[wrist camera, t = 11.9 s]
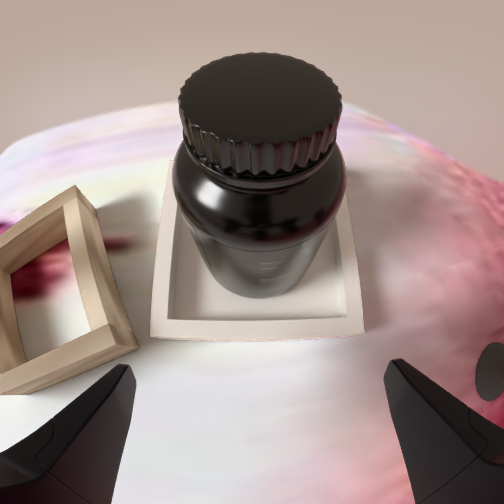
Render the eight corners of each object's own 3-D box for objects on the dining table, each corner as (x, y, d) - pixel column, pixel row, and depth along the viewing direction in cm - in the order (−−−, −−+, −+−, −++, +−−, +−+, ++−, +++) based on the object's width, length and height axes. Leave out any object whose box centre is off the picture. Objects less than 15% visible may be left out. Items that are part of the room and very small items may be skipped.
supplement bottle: (312, 207, 19) (363, 54, 8) (307, 306, 17) (402, 204, 6) (212, 196, 20) (182, 38, 8) (193, 293, 17) (105, 174, 6)
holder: (139, 348, 16) (115, 343, 13) (26, 394, 15) (-3, 394, 11) (95, 208, 20) (74, 184, 17) (1, 268, 18) (-24, 254, 15)
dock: (352, 336, 17) (364, 333, 15) (160, 339, 17) (149, 336, 15) (332, 175, 21) (338, 159, 19) (176, 176, 21) (170, 159, 19)
